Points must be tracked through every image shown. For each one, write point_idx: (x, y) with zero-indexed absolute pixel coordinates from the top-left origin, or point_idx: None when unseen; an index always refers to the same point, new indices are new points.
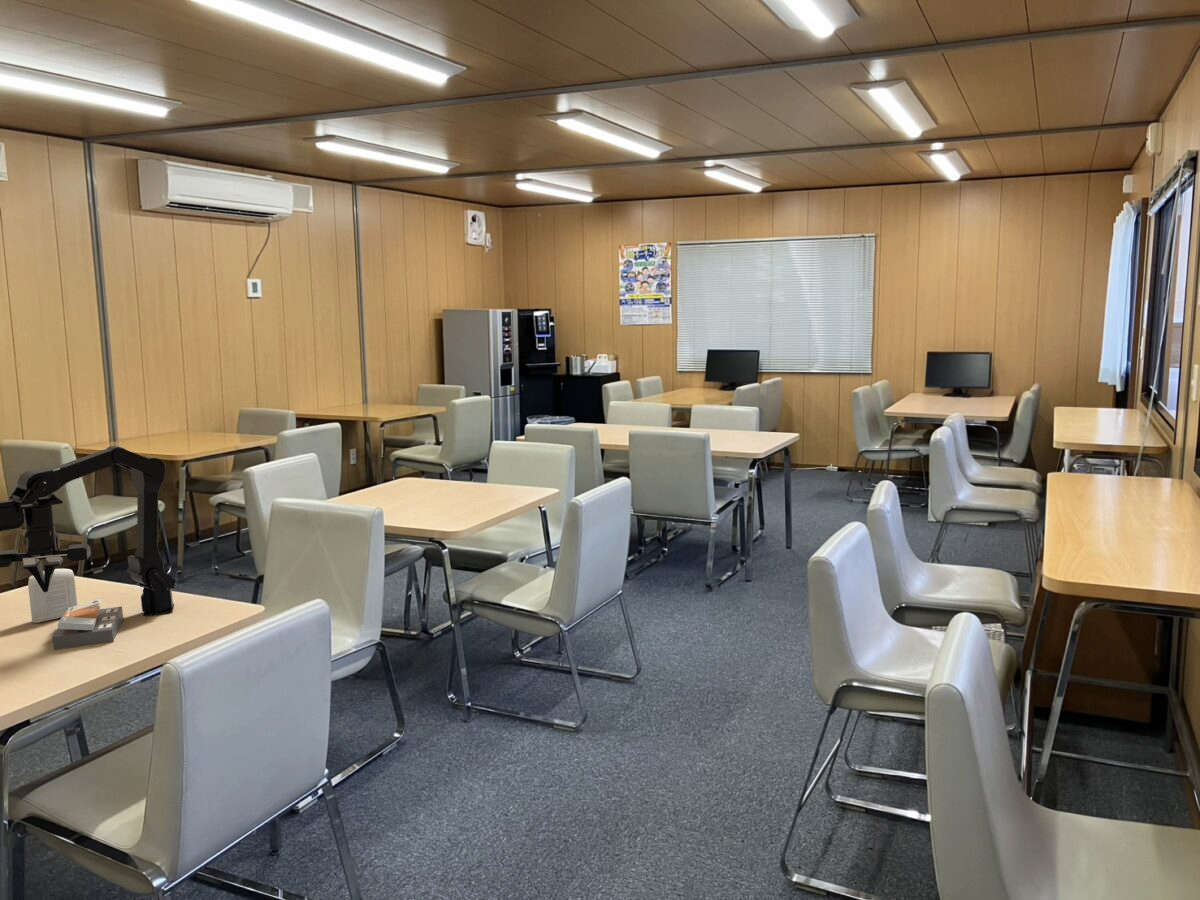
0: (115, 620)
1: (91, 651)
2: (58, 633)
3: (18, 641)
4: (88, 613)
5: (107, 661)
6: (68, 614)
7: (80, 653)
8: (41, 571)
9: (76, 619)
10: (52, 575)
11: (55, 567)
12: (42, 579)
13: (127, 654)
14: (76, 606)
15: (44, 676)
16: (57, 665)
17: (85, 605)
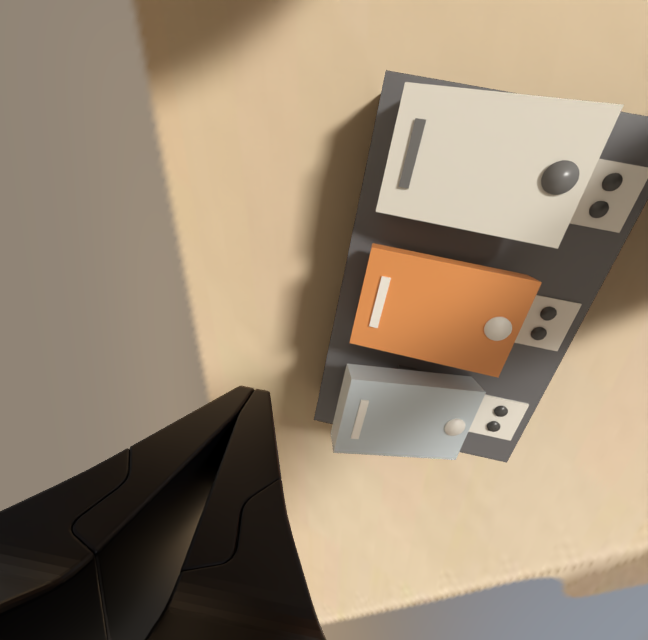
0: (555, 367)
1: (414, 464)
2: (333, 391)
3: (202, 219)
4: (468, 360)
5: (436, 547)
6: (383, 303)
7: (386, 461)
8: (115, 622)
9: (405, 411)
10: (282, 493)
11: (314, 635)
12: (189, 542)
13: (490, 536)
14: (444, 118)
15: (301, 544)
16: (327, 504)
17: (491, 183)
